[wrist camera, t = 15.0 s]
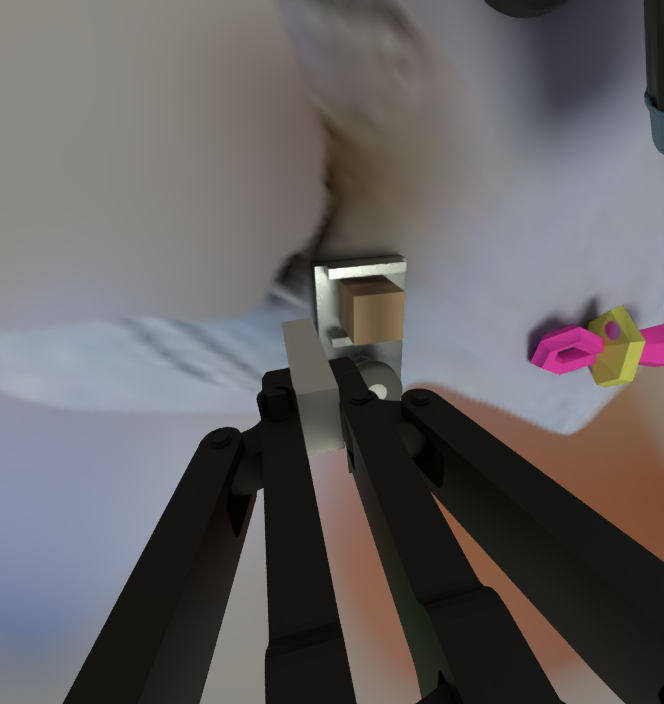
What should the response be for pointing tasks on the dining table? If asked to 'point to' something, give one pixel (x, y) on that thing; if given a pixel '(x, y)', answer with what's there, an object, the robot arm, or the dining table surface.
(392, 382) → the wheel
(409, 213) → the dining table surface
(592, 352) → the toy
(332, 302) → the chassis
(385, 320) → the block
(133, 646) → the robot arm
